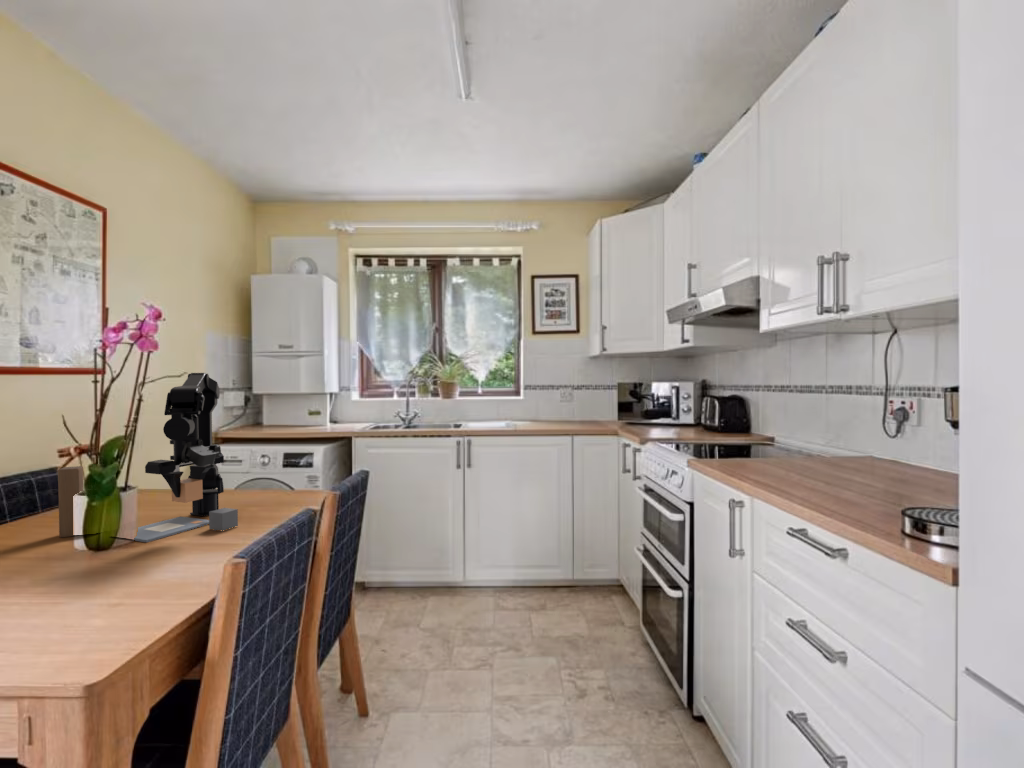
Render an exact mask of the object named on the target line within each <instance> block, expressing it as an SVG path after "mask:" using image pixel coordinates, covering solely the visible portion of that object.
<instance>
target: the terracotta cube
mask: <svg viewBox="0 0 1024 768" xmlns="http://www.w3.org/2000/svg"><path fill="white" fill-rule="evenodd" d="M180 486H181V492H180V497H176V496H175V495H174V493H173V491H172V490H171V502H176V503H185V504H186V503H191V502H192V501H195V500H199V499H203V484H202V480H200V479H190V478H184V479H180Z"/></svg>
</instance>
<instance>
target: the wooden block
mask: <svg viewBox="0 0 1024 768" xmlns="http://www.w3.org/2000/svg"><path fill="white" fill-rule="evenodd" d="M57 485H58V487H57V488H58V489H57V490H58V491H57V492H58V533H59V534H58V535H59V538H60V539H61V538H71V537H74V536H73V496H74V495H75V494H77V493H79V492H80V491H83V492H84V467H83V466H81V465H79V466H64V467H61V468H59V469H58V470H57Z"/></svg>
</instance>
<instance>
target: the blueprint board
mask: <svg viewBox="0 0 1024 768" xmlns="http://www.w3.org/2000/svg"><path fill="white" fill-rule="evenodd" d="M207 524H209V519H202V518H195V517H186V516H177V517H172V518H170V519H165V520H161V521H157V522H153V523H150V524H146V525H142V526H138V532H137V536H136V537H135V538H134V540H135V542H142V543H149V542H153V541H156V540H159V539H160V540H161V539H163V538H167V537H171V536H175V535H178V534H180V532H181V533H185V532H188V531H191V529H192V530H195V529H198V528H197V527H199V528H202V527H205V526H204V525H206V526H208V525H207ZM201 526H202V527H201ZM194 528H195V529H194ZM187 530H188V531H187ZM184 531H185V532H184ZM177 533H178V534H177ZM134 540H133V541H134Z"/></svg>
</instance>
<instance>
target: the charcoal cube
mask: <svg viewBox="0 0 1024 768" xmlns="http://www.w3.org/2000/svg"><path fill="white" fill-rule="evenodd" d="M238 513H239V512H238V509H237V508H229V507H222V508H219V509H218V510H214V511H210V512H209V515H208V520H209V525H208V526H209V527H208V528H209V529H214V530H213V531H216V530H222V531H221V532H224V531H223V530H226V529H229V528H232V527H235V526H238V527H239V519H238V518H239V517H238V516H239V515H238ZM232 529H233V528H232ZM229 530H230V529H229ZM226 531H227V530H226Z"/></svg>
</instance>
